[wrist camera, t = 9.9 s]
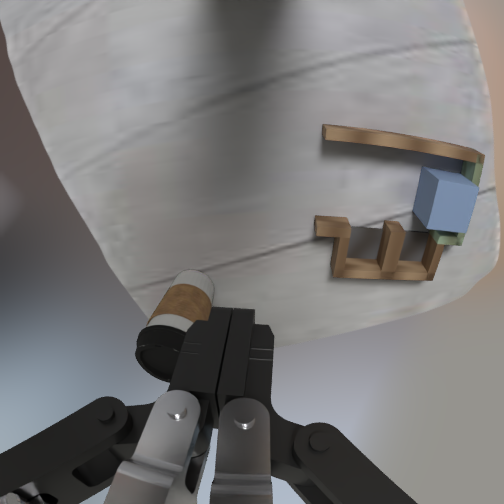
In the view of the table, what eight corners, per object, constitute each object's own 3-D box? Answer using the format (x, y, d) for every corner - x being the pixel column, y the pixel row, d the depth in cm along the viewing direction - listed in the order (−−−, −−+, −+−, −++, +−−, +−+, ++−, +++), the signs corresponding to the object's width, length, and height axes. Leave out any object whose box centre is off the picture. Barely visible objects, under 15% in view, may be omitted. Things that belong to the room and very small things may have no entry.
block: (421, 165, 33) (439, 179, 29) (460, 173, 33) (479, 187, 28) (412, 210, 36) (426, 228, 32) (449, 215, 36) (466, 233, 32)
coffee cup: (220, 262, 43) (195, 346, 30) (224, 309, 47) (206, 392, 34) (162, 260, 43) (120, 337, 31) (172, 306, 48) (141, 382, 35)
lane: (309, 262, 41) (311, 276, 39) (322, 124, 32) (326, 128, 29) (440, 268, 40) (448, 281, 37) (472, 148, 30) (485, 155, 28)
